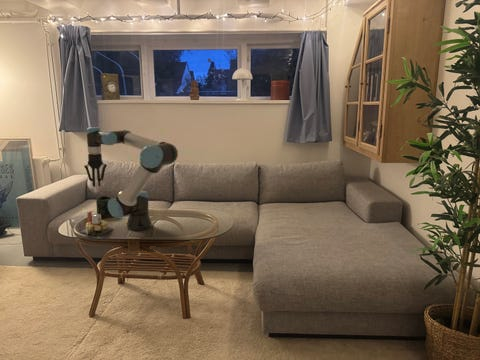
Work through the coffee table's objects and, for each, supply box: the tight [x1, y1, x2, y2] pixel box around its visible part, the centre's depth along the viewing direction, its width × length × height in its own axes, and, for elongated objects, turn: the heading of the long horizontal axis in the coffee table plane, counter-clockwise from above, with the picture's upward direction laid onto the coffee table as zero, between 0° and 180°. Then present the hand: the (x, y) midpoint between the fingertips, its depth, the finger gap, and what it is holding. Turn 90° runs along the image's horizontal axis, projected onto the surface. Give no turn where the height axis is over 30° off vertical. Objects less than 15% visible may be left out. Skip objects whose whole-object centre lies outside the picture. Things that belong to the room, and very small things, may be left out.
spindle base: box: [80, 213, 114, 237], centre depth 221 cm, size 13×15×10 cm
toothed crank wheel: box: [85, 211, 109, 231], centre depth 223 cm, size 16×12×8 cm
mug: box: [95, 195, 113, 218], centre depth 253 cm, size 11×15×12 cm
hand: (96, 191), depth 227 cm, fingers closed
